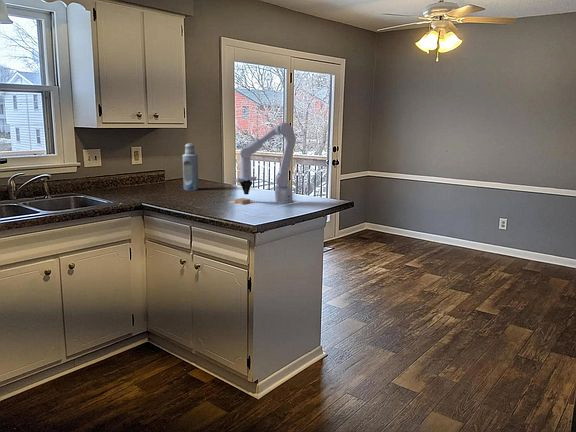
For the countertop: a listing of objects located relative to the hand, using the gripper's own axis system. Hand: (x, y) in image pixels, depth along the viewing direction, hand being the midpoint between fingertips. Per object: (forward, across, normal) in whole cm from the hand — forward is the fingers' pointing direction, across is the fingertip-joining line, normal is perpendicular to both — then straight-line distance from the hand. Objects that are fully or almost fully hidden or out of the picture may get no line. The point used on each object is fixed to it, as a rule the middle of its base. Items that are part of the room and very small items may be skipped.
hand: (246, 194), depth 271 cm
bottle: (+5, -13, -64) cm, 65 cm away
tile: (+3, 0, 0) cm, 3 cm away
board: (+5, +1, -1) cm, 5 cm away
